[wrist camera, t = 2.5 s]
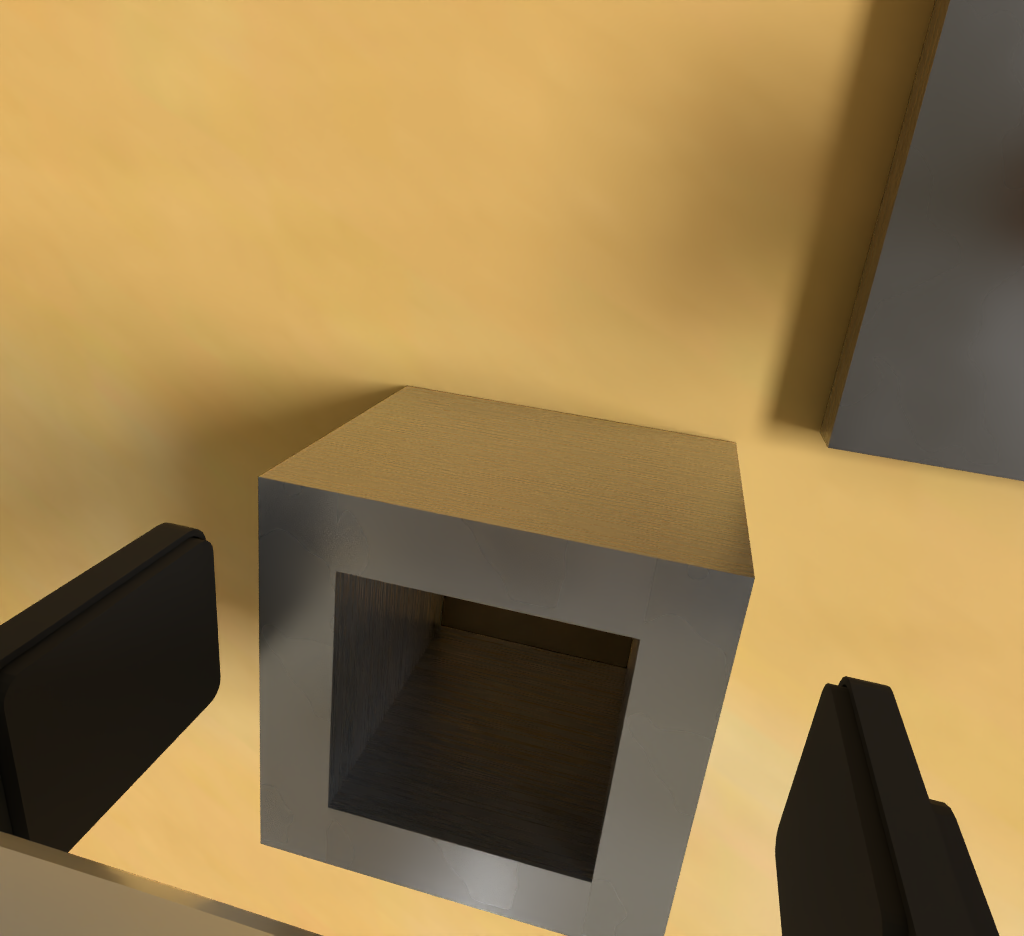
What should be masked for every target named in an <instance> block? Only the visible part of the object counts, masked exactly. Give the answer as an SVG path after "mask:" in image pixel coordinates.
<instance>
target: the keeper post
mask: <svg viewBox="0 0 1024 936" xmlns="http://www.w3.org/2000/svg"><path fill="white" fill-rule="evenodd" d="M820 433H821V435H822V437H823V439H824V441H825V443H826V445H827V447H828V448H833V449H839V450H845V451H851V452H857V453H863V454H868V455H874V456H880V457H886V458H892V459H898V460H903V461H909V462H915V463H921V464H927V465H933V466H939V467H944V468H950V469H956V470H962V471H968V472H974V473H979V474H985V475H991V476H997V477H1003V478H1009V479H1014V480H1020V481H1024V0H936V1H935V5H934V9H933V12H932V16H931V20H930V24H929V27H928V31H927V35H926V39H925V42H924V46H923V50H922V53H921V57H920V61H919V65H918V68H917V72H916V76H915V80H914V83H913V87H912V91H911V95H910V98H909V102H908V106H907V110H906V113H905V117H904V121H903V124H902V128H901V132H900V136H899V139H898V143H897V147H896V151H895V154H894V158H893V162H892V166H891V169H890V173H889V177H888V181H887V184H886V188H885V192H884V195H883V199H882V203H881V207H880V210H879V214H878V218H877V222H876V225H875V229H874V233H873V237H872V240H871V244H870V248H869V251H868V255H867V259H866V263H865V266H864V270H863V274H862V278H861V281H860V285H859V289H858V293H857V296H856V300H855V304H854V308H853V311H852V315H851V319H850V322H849V326H848V330H847V334H846V337H845V341H844V345H843V349H842V352H841V356H840V360H839V364H838V367H837V371H836V375H835V379H834V382H833V386H832V390H831V393H830V397H829V401H828V405H827V408H826V412H825V416H824V420H823V423H822V427H821V431H820Z"/></svg>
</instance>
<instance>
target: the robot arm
mask: <svg viewBox="0 0 1024 936" xmlns="http://www.w3.org/2000/svg"><path fill="white" fill-rule="evenodd" d="M219 685H220V660H219V642H218V625H217V607H216V590H215V572H214V555H213V547H212V545H211V543H210V542H208V541H206V538H205V536H204V534H203V532H201V531H200V530H198V529H194V528H189V527H185V526H180V525H176V524H172V523H163V524H160V525H158V526H156V527H155V528H153V529H152V530H150V531H149V532H147V533H145V534H144V535H142V536H141V537H139V538H138V539H136V540H134V541H133V542H131V543H130V544H128V545H127V546H125V547H123V548H122V549H120V550H119V551H117V552H115V553H114V554H112V555H111V556H109V557H108V558H106V559H104V560H103V561H101V562H100V563H98V564H97V565H95V566H93V567H92V568H90V569H89V570H87V571H85V572H84V573H82V574H81V575H79V576H78V577H76V578H74V579H73V580H71V581H70V582H68V583H67V584H65V585H63V586H62V587H60V588H59V589H57V590H55V591H54V592H52V593H51V594H49V595H48V596H46V597H44V598H43V599H41V600H40V601H38V602H37V603H35V604H33V605H32V606H30V607H29V608H27V609H25V610H24V611H22V612H21V613H19V614H18V615H16V616H14V617H13V618H11V619H10V620H8V621H7V622H5V623H3V624H2V625H0V936H322V935H319V934H316V933H313V932H310V931H307V930H304V929H301V928H298V927H295V926H292V925H289V924H286V923H283V922H279V921H276V920H273V919H270V918H267V917H264V916H261V915H258V914H255V913H252V912H249V911H246V910H243V909H240V908H237V907H234V906H231V905H228V904H224V903H221V902H218V901H215V900H212V899H209V898H206V897H203V896H200V895H197V894H194V893H191V892H188V891H185V890H182V889H179V888H176V887H172V886H169V885H166V884H163V883H160V882H157V881H154V880H151V879H148V878H144V877H141V876H138V875H135V874H132V873H129V872H126V871H123V870H120V869H116V868H113V867H110V866H107V865H104V864H101V863H98V862H95V861H92V860H88V859H85V858H82V857H79V856H76V855H73V854H70V853H68V852H69V851H70V850H71V849H72V848H73V847H74V846H75V845H76V843H77V842H78V841H79V840H80V839H81V838H82V837H83V836H84V835H85V834H86V833H87V832H88V831H89V830H90V829H91V828H92V827H93V826H94V825H95V824H96V822H97V821H98V820H99V819H100V818H101V817H102V816H103V815H104V814H105V813H106V812H107V811H108V810H109V809H110V808H111V807H112V806H113V805H114V804H115V803H116V801H117V800H118V799H119V798H120V797H121V796H122V795H123V794H124V793H125V792H126V791H127V790H128V789H129V788H130V787H131V786H132V785H133V784H134V783H135V782H136V780H137V779H138V778H139V777H140V776H141V775H142V774H143V773H144V772H145V771H146V770H147V769H148V768H149V767H150V766H151V765H152V764H153V763H154V762H155V761H156V759H157V758H158V757H159V756H160V755H161V754H162V753H163V752H164V751H165V750H166V749H167V748H168V747H169V746H170V745H171V744H172V743H173V742H174V741H175V740H176V738H177V737H178V736H179V735H180V734H181V733H182V732H183V731H184V730H185V729H186V728H187V727H188V726H189V725H190V724H191V723H192V722H193V721H194V720H195V719H196V717H197V716H198V715H199V714H200V713H201V712H202V711H203V710H204V709H205V708H206V707H207V706H208V705H209V704H210V703H211V701H212V700H213V699H214V697H215V695H216V694H217V691H218V689H219ZM775 858H776V869H777V881H778V893H779V904H780V916H781V927H782V936H999V933H998V931H997V928H996V925H995V923H994V920H993V917H992V915H991V912H990V909H989V906H988V904H987V901H986V898H985V896H984V893H983V890H982V888H981V885H980V882H979V879H978V877H977V874H976V871H975V869H974V866H973V863H972V861H971V858H970V855H969V852H968V850H967V847H966V844H965V842H964V839H963V836H962V834H961V831H960V828H959V825H958V823H957V820H956V818H955V816H954V814H953V812H952V810H951V808H950V807H949V806H947V805H946V804H945V803H943V802H939V801H935V800H931V799H929V797H928V794H927V791H926V788H925V785H924V783H923V780H922V777H921V774H920V771H919V768H918V765H917V762H916V759H915V756H914V753H913V750H912V747H911V744H910V741H909V738H908V735H907V732H906V730H905V727H904V724H903V721H902V718H901V715H900V712H899V709H898V706H897V703H896V700H895V697H894V694H893V692H892V690H891V688H890V687H889V686H886V685H882V684H878V683H873V682H869V681H864V680H860V679H855V678H851V677H847V676H845V677H843V678H842V680H841V681H840V683H839V685H833V684H829V683H828V684H826V685H825V687H824V688H823V691H822V694H821V697H820V700H819V703H818V706H817V709H816V712H815V715H814V718H813V722H812V725H811V728H810V731H809V734H808V737H807V740H806V743H805V746H804V749H803V752H802V756H801V759H800V762H799V765H798V768H797V771H796V774H795V777H794V780H793V783H792V787H791V790H790V793H789V796H788V799H787V802H786V805H785V808H784V811H783V814H782V817H781V821H780V824H779V827H778V831H777V837H776V846H775Z"/></svg>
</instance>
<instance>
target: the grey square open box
mask: <svg viewBox="0 0 1024 936" xmlns="http://www.w3.org/2000/svg"><path fill="white" fill-rule="evenodd" d="M258 511H259V664H260V817H261V844H264V845H267V846H271V847H274V848H277V849H281V850H284V851H287V852H291V853H294V854H297V855H301V856H304V857H307V858H311V859H314V860H317V861H321V862H324V863H327V864H331V865H334V866H337V867H341V868H344V869H347V870H351V871H354V872H357V873H361V874H364V875H367V876H371V877H374V878H377V879H381V880H384V881H387V882H391V883H394V884H397V885H401V886H404V887H407V888H411V889H414V890H417V891H421V892H424V893H427V894H431V895H434V896H437V897H441V898H444V899H447V900H451V901H454V902H457V903H461V904H464V905H467V906H470V907H474V908H477V909H480V910H484V911H487V912H490V913H494V914H497V915H500V916H504V917H507V918H510V919H514V920H517V921H520V922H524V923H527V924H530V925H534V926H537V927H540V928H544V929H547V930H550V931H554V932H557V933H560V934H564V935H567V936H664V934H665V930H666V926H667V922H668V918H669V914H670V910H671V906H672V902H673V898H674V894H675V890H676V886H677V882H678V878H679V875H680V871H681V867H682V863H683V859H684V855H685V851H686V847H687V843H688V839H689V835H690V831H691V827H692V823H693V819H694V815H695V811H696V808H697V804H698V800H699V796H700V792H701V788H702V784H703V780H704V776H705V772H706V768H707V764H708V760H709V756H710V752H711V748H712V745H713V741H714V737H715V733H716V729H717V725H718V721H719V717H720V713H721V709H722V705H723V701H724V697H725V693H726V689H727V685H728V681H729V678H730V674H731V670H732V666H733V662H734V658H735V654H736V650H737V646H738V642H739V638H740V634H741V630H742V626H743V622H744V618H745V615H746V611H747V607H748V603H749V599H750V595H751V591H752V587H753V583H754V579H755V576H754V569H753V562H752V555H751V548H750V541H749V533H748V526H747V519H746V512H745V505H744V497H743V490H742V483H741V476H740V469H739V461H738V454H737V447H736V443H734V442H728V441H722V440H716V439H711V438H705V437H699V436H693V435H688V434H682V433H676V432H670V431H665V430H659V429H653V428H647V427H642V426H636V425H630V424H624V423H619V422H613V421H607V420H601V419H596V418H590V417H584V416H578V415H573V414H567V413H561V412H555V411H549V410H544V409H538V408H532V407H526V406H521V405H515V404H509V403H503V402H498V401H492V400H486V399H480V398H475V397H469V396H463V395H457V394H452V393H446V392H440V391H434V390H429V389H423V388H417V387H411V386H406V387H404V388H403V389H401V390H399V391H398V392H396V393H395V394H393V395H391V396H390V397H388V398H386V399H385V400H383V401H381V402H380V403H378V404H377V405H375V406H373V407H372V408H370V409H368V410H367V411H365V412H363V413H362V414H360V415H359V416H357V417H355V418H354V419H352V420H350V421H349V422H347V423H345V424H344V425H342V426H340V427H339V428H337V429H336V430H334V431H332V432H331V433H329V434H327V435H326V436H324V437H322V438H321V439H319V440H318V441H316V442H314V443H313V444H311V445H309V446H308V447H306V448H304V449H303V450H301V451H300V452H298V453H296V454H295V455H293V456H291V457H290V458H288V459H286V460H285V461H283V462H282V463H280V464H278V465H277V466H275V467H273V468H272V469H270V470H268V471H267V472H265V473H263V474H262V475H260V476H259V477H258ZM444 595H445V596H449V597H454V598H458V599H462V600H467V601H471V602H476V603H480V604H485V605H489V606H494V607H498V608H503V609H507V610H511V611H516V612H520V613H525V614H529V615H534V616H538V617H543V618H547V619H552V620H556V621H560V622H565V623H569V624H574V625H578V626H583V627H587V628H592V629H596V630H600V631H605V632H609V633H614V634H618V635H623V636H627V637H632V638H633V640H632V645H631V650H630V655H629V661H628V666H627V669H626V668H622V667H618V666H613V665H609V664H605V663H600V662H596V661H592V660H587V659H583V658H579V657H575V656H570V655H566V654H562V653H557V652H553V651H549V650H544V649H540V648H536V647H532V646H527V645H523V644H519V643H514V642H510V641H506V640H501V639H497V638H493V637H488V636H484V635H480V634H476V633H471V632H467V631H463V630H458V629H454V628H450V627H445V626H441V622H442V611H443V600H444Z"/></svg>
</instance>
